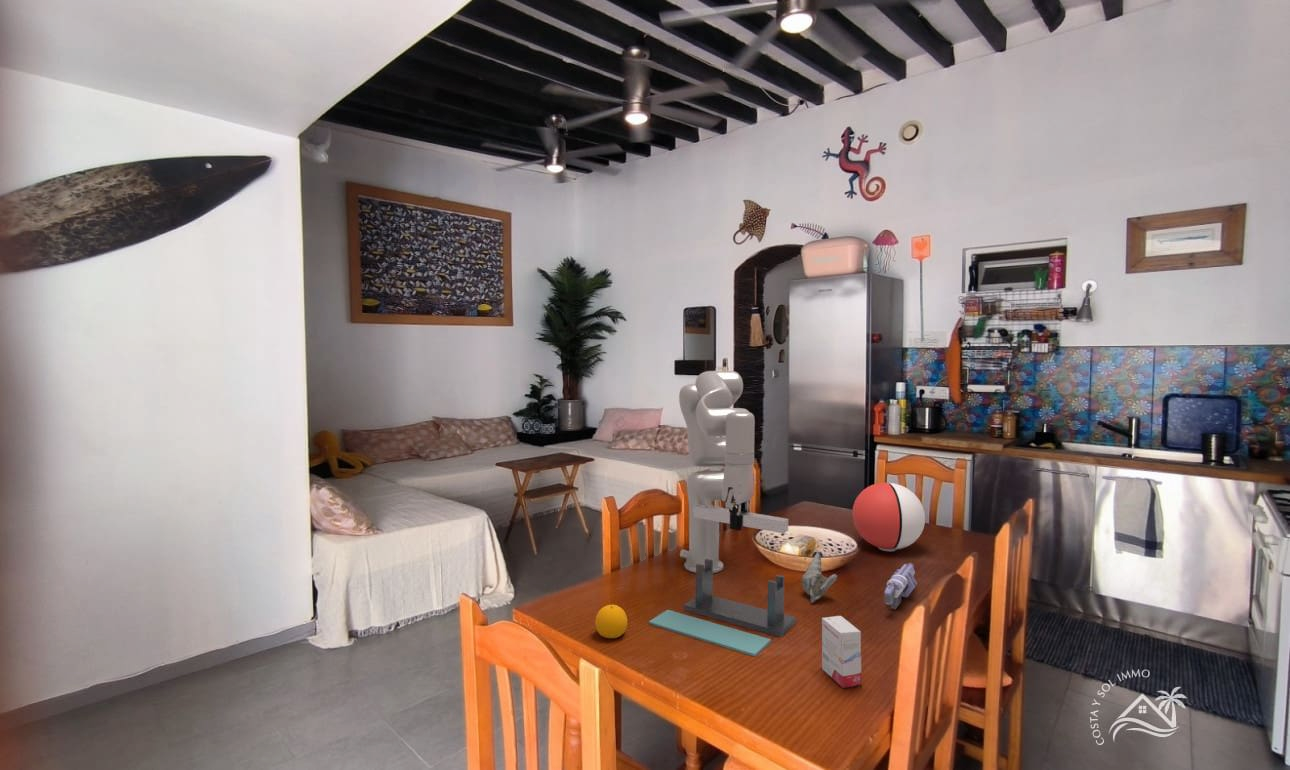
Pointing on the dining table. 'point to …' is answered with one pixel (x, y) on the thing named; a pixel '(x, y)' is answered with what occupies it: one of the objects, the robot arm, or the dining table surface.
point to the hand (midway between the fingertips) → (738, 527)
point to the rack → (741, 605)
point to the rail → (747, 518)
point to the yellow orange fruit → (611, 621)
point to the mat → (711, 632)
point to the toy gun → (900, 585)
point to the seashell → (816, 579)
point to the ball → (888, 516)
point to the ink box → (841, 651)
